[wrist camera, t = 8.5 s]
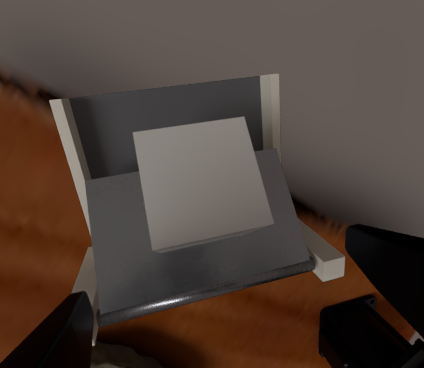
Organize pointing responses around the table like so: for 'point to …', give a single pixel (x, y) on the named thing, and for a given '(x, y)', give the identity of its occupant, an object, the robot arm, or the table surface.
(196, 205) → the light grey cube
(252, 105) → the frame
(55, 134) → the table surface
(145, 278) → the trapdoor
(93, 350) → the marble piece
